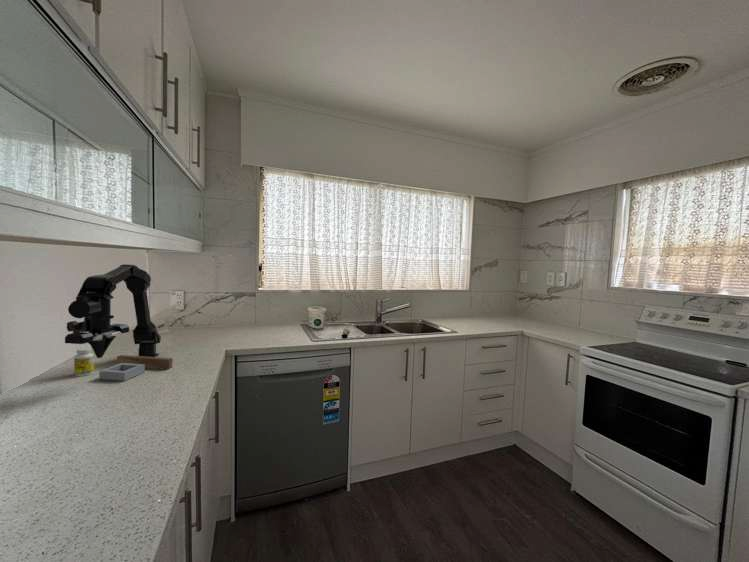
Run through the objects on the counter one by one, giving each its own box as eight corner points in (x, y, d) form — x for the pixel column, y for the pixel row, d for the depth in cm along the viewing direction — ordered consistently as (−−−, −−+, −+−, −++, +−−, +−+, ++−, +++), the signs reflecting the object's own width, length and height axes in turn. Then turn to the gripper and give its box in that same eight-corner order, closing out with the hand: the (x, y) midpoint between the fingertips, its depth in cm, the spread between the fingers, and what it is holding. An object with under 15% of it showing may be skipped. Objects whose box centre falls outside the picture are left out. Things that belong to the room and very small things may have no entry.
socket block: (121, 370, 124) (121, 363, 123) (144, 372, 123) (144, 364, 123) (99, 379, 114) (99, 371, 114) (124, 380, 114) (124, 372, 114)
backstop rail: (121, 364, 131) (121, 355, 131) (172, 367, 130) (172, 358, 130) (116, 365, 129) (117, 356, 129) (168, 369, 128) (169, 359, 128)
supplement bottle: (97, 371, 122) (97, 347, 121) (86, 376, 117) (86, 351, 116) (81, 371, 121) (81, 347, 121) (70, 376, 116) (70, 350, 115)
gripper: (101, 308, 117) (101, 349, 118) (47, 316, 99) (48, 364, 99) (130, 309, 117) (130, 350, 118) (81, 318, 98) (82, 367, 99)
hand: (99, 357), depth 109 cm, fingers closed
